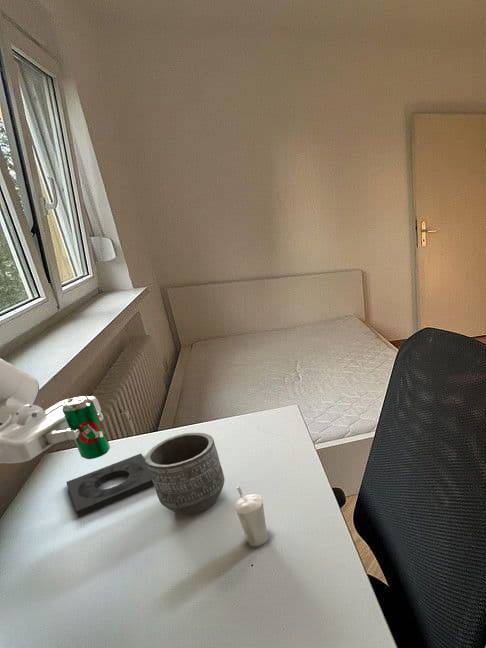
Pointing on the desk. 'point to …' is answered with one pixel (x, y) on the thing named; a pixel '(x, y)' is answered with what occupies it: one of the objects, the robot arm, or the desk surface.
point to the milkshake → (252, 518)
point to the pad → (93, 498)
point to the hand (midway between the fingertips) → (89, 425)
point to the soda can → (86, 427)
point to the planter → (186, 473)
